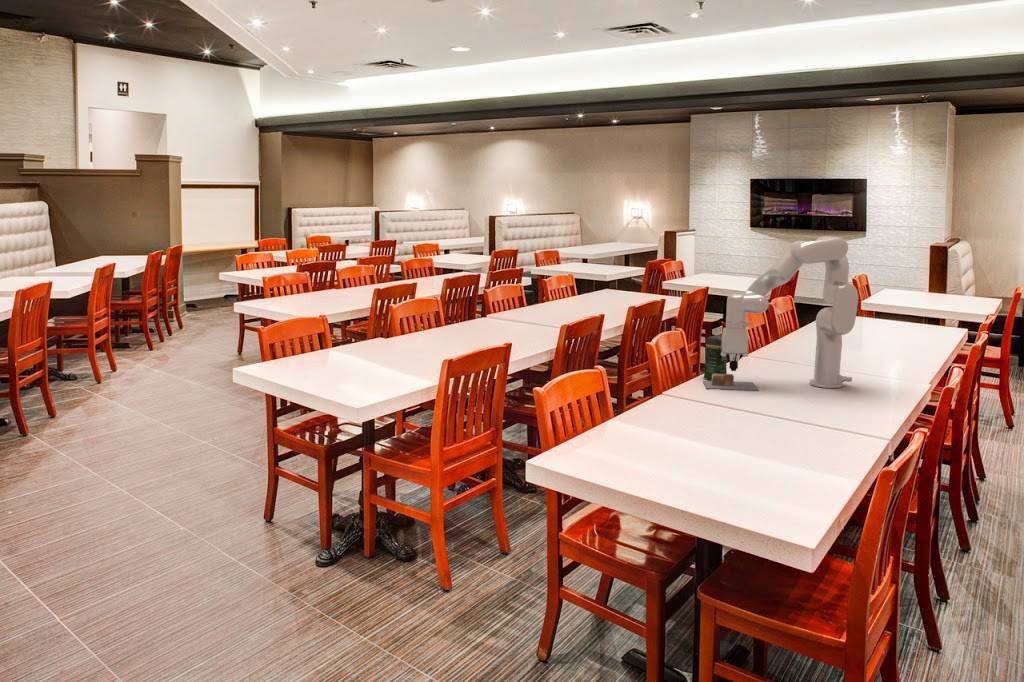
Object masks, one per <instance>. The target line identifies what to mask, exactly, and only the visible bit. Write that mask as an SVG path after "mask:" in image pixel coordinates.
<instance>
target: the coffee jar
mask: <svg viewBox="0 0 1024 682" xmlns="http://www.w3.org/2000/svg"><path fill="white" fill-rule="evenodd" d="M721 340H722V334H717V335H712V336H709V337H706V341H705V350H706V351H705V363H704V373H703V375H704V376H703V377H704V379H706V380H707V381H712V374H728V373H727V369H728V367H727V366H728V365H727V362H728V361H727V360H728V358H727V357H724V356H721V355H720V353H721Z"/></svg>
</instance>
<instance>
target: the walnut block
mask: <svg viewBox="0 0 1024 682" xmlns="http://www.w3.org/2000/svg"><path fill="white" fill-rule="evenodd" d="M734 379H735V376H734V375H733V373H727V374H712V380H711V381H712V385H716V386H733V382H734Z"/></svg>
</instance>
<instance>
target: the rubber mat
mask: <svg viewBox="0 0 1024 682" xmlns="http://www.w3.org/2000/svg"><path fill="white" fill-rule="evenodd" d="M702 383H703V385H704V387H705V389H706V390H709V389H720V390H721V391H747V392H748V391H750V392H751V391H752V392H757V391H758V392H759V388H758V386H757V385H756V384H755V383H754V382H753V381H736V380H735V381H734V382H733V386H716V385H712V380H702ZM720 390H719V391H720Z"/></svg>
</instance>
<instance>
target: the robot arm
mask: <svg viewBox="0 0 1024 682" xmlns="http://www.w3.org/2000/svg"><path fill="white" fill-rule="evenodd" d="M848 252H849V244H848V242H847V241H846V239H844V238H842V237H839V236H831V235H830V236H829V235H824V236H819V237H817V239H815V240H812V241H807V240H806V241H805V240H796V241H793V242H792V243H791V244H790V245H789V246H788V247H787V248H786V249H785V250H784V252H783V253H782V254H781V255H780V257H779V258H778V259H777V260H776V261H775V263H774V264H773V265H772V266H771V267H770V268H769V269H768V270H766V271H765V272H764V273H763V274H762V275H759V277H758V278H757V279H755V280H754V281H753V282H752V283H751V285H750V286H749V287H748V288H747V289H746V291H744V292H743V294H740V293H731V294H729V295H728V296H727V298H726V299H727V300H726V313H725V314H726V315H725V327H723V330H722V334H721V335H722V340H721V353H720V355H721V356H724V357H727V360H729V365H728V366H729V369H730V371H731V372H737V370H738V367H739V361H740V360H741V359H742V358H746V357H749V352H748V351H749V335H748V334H749V332H748V329H747V327H750V322H747V313H748V314H750V313H752V314H756V315H757V314H759V315H760V314H763V313H765V312H766V311H767V310H768V309H769V307H770V302H769V299H768V298H767V297H766V295H767V294H769V292H772V290H774V289H775V288H777V287H780V286H783V285H785V284H786V283H788V282H789V281H790V280H791V279H792V277H794V276H795V274H796V273H797V271H799V269H800V268H801V267H802V266H803V265H804V264H805V265H807V264H808V265H809V264H811V265H812V264H818V263H819V264H820V263H824V267H825V271H824V272H825V274H824V283H823V288H822V298H823V300H824V301H825V302H826V303H828V304H830V305H832V306H830V307H824V308H821V310H819V311H818V313H817V314H816V316H815V317H816V318H815V329H816V342H815V343H816V344H815V345H816V346H815V354H814V357H815V359H814V371H813V379H810V380H809V385H811V386H813V387H817V388H823V389H839V388H843V387H844V382H848V383H852V381H853V377H852V376H845V375H841V360H842V348H843V336H844V335H847V334H849V333H850V332H851V331H852V330H853V329H854V327H855V323H856V318H857V311H858V304H859V293H858V290H857V287H856V286H855V285H854V284H852V283H850V282H849V275H850V274H849V272H850V264H849V260H848V256H847V254H848ZM733 355H735V356H733ZM733 358H734V359H733Z"/></svg>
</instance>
